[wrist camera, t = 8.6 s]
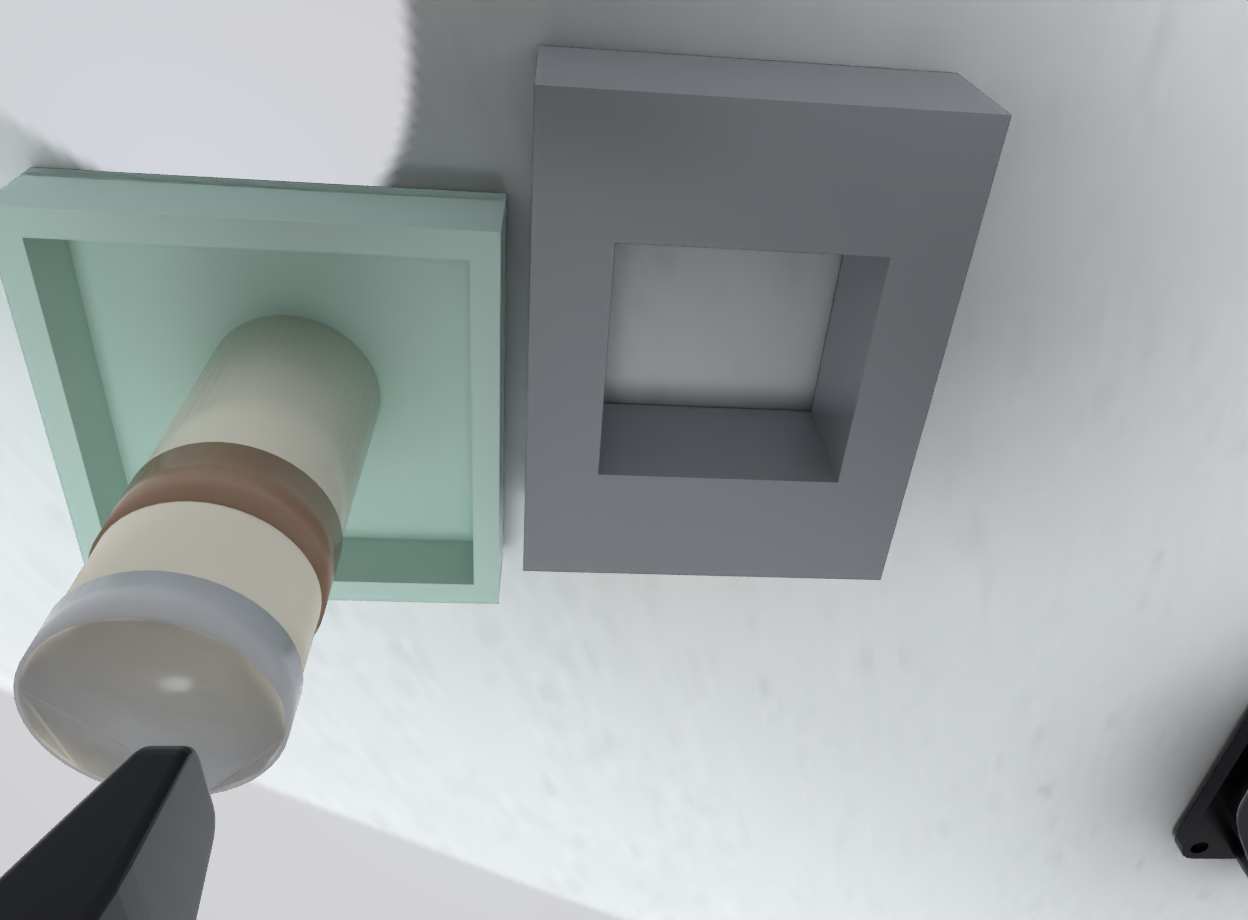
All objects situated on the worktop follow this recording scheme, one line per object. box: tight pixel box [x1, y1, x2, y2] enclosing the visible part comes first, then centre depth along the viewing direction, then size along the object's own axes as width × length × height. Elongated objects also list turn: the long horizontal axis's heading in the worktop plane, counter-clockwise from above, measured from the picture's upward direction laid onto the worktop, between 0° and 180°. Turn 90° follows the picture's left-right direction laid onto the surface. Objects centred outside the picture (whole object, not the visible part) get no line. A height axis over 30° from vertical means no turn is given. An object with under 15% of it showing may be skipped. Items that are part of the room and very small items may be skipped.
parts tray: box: [0, 167, 506, 604], centre depth 19 cm, size 8×8×2 cm
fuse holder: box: [523, 45, 1011, 580], centre depth 18 cm, size 9×7×2 cm
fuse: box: [14, 315, 381, 794], centre depth 16 cm, size 3×3×8 cm
